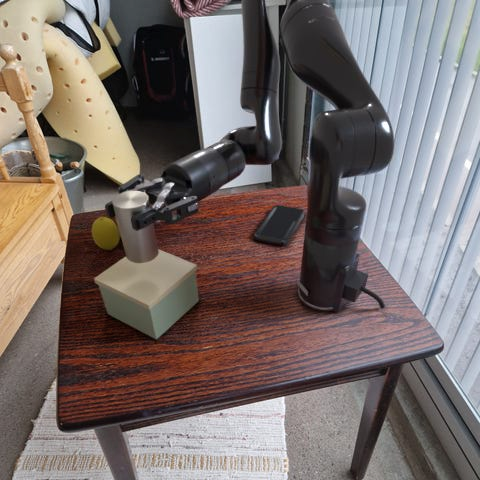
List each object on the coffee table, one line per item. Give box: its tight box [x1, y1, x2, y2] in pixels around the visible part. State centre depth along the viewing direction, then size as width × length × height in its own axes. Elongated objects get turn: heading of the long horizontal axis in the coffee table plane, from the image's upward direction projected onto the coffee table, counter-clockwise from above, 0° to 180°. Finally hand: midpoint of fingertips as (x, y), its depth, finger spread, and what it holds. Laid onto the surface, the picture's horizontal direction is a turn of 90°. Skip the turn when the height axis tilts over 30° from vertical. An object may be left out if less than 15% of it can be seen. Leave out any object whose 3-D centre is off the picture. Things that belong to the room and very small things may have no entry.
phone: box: [253, 204, 305, 247], centre depth 98 cm, size 8×1×15 cm
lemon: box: [91, 216, 121, 251], centre depth 90 cm, size 6×6×8 cm
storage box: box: [93, 248, 200, 340], centre depth 76 cm, size 13×13×8 cm
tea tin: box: [111, 191, 159, 263], centre depth 67 cm, size 5×5×10 cm
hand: (120, 218), depth 63 cm, fingers closed on tea tin, 5 cm apart
